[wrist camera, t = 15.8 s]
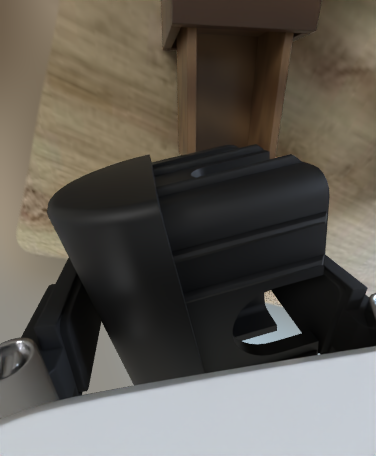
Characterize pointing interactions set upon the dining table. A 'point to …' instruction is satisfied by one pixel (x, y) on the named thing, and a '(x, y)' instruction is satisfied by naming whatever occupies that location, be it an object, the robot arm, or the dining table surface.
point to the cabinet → (239, 16)
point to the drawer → (230, 87)
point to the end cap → (194, 254)
